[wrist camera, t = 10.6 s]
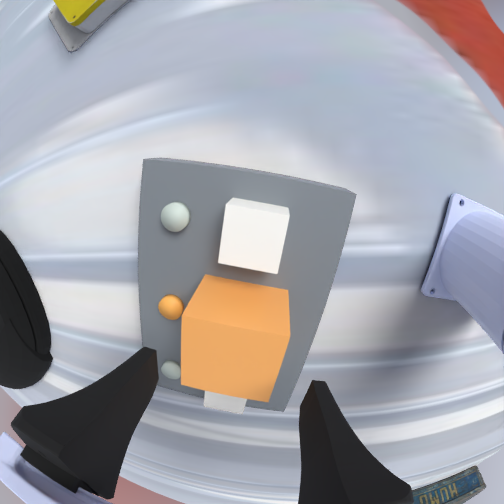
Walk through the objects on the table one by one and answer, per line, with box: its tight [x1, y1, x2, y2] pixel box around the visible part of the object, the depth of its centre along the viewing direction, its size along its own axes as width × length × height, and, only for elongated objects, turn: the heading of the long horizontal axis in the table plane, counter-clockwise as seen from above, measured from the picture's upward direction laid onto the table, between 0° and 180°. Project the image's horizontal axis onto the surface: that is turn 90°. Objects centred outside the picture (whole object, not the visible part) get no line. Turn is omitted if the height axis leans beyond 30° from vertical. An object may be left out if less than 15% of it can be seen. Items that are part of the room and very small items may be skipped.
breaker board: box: [138, 158, 356, 414], centre depth 17 cm, size 12×18×4 cm, turn 171°
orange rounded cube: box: [181, 274, 290, 402], centre depth 15 cm, size 5×5×4 cm
